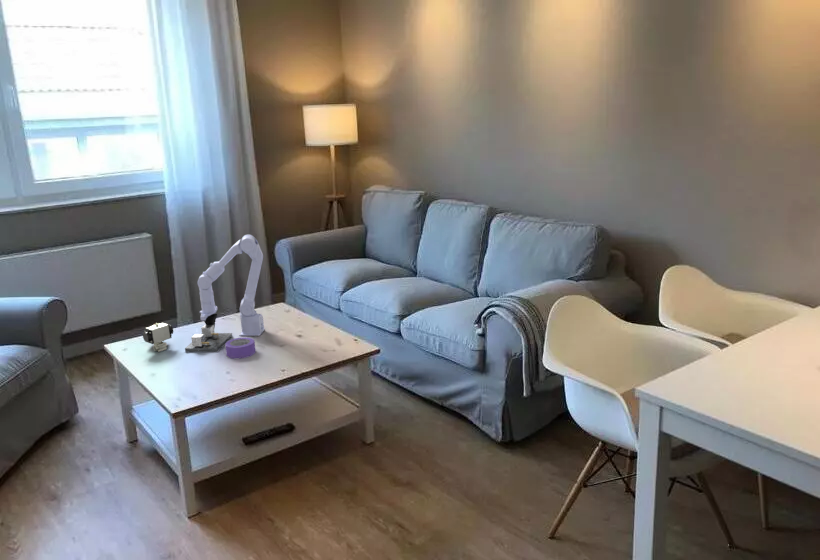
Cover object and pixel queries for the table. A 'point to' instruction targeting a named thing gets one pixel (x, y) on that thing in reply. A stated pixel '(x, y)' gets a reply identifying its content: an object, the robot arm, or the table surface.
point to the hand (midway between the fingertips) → (211, 330)
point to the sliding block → (208, 330)
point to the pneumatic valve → (158, 335)
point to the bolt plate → (207, 342)
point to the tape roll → (240, 347)
